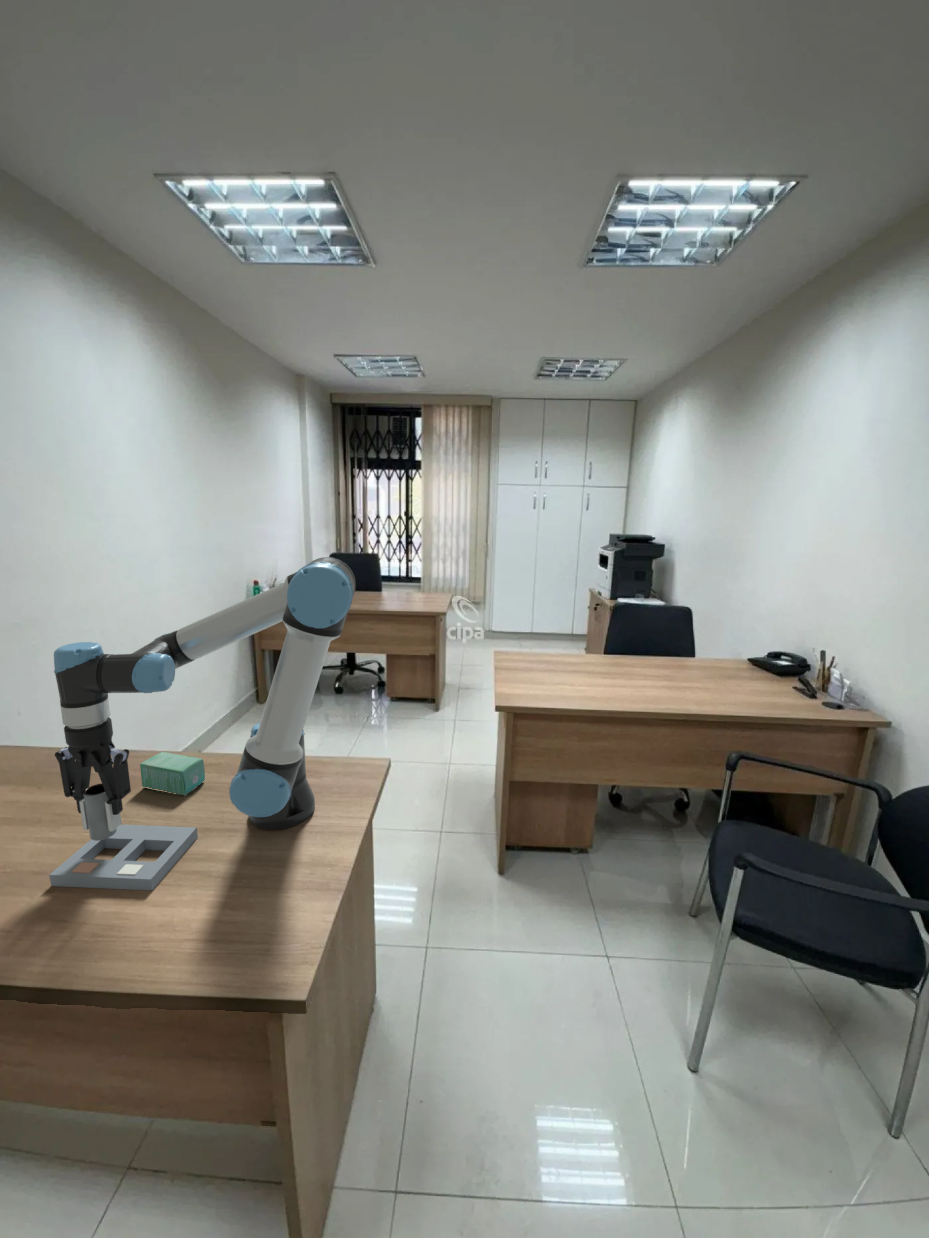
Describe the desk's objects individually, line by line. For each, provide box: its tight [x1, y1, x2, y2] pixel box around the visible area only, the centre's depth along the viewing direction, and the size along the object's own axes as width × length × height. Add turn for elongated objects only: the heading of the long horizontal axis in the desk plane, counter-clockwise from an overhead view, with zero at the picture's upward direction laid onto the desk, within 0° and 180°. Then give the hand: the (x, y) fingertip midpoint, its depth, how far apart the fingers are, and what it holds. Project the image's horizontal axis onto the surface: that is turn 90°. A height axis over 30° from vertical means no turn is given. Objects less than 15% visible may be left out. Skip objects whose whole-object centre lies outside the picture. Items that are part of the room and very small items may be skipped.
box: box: [139, 751, 206, 796], centre depth 132 cm, size 7×14×8 cm, turn 77°
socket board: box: [48, 823, 199, 891], centre depth 105 cm, size 20×16×3 cm
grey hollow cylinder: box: [83, 783, 117, 841], centre depth 103 cm, size 4×4×10 cm
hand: (102, 826), depth 104 cm, fingers closed on grey hollow cylinder, 4 cm apart
